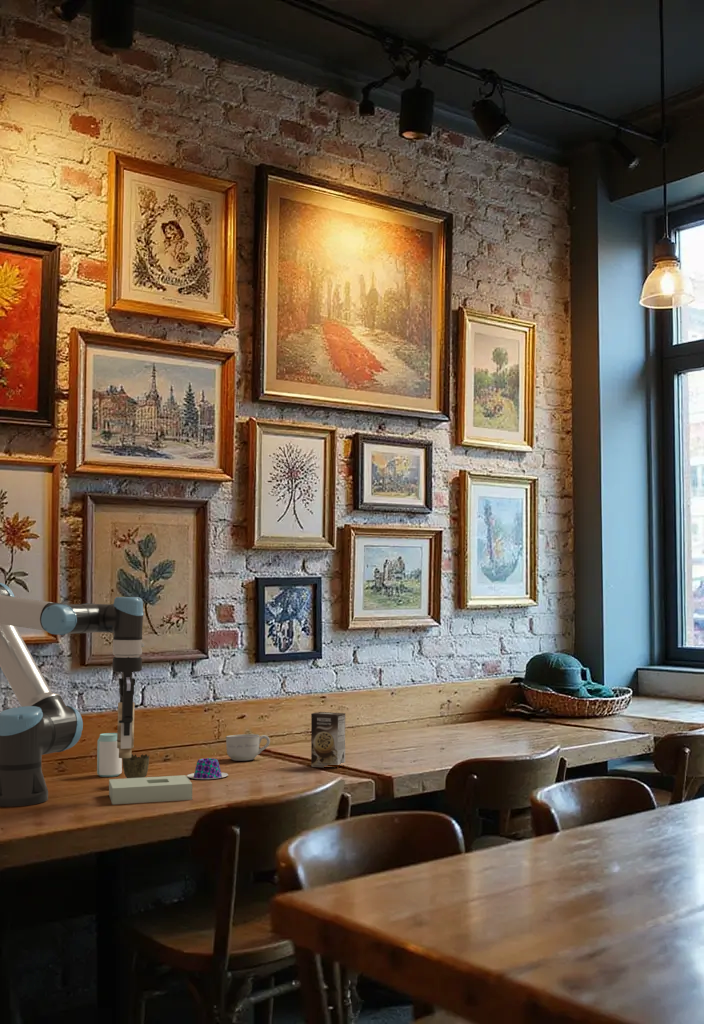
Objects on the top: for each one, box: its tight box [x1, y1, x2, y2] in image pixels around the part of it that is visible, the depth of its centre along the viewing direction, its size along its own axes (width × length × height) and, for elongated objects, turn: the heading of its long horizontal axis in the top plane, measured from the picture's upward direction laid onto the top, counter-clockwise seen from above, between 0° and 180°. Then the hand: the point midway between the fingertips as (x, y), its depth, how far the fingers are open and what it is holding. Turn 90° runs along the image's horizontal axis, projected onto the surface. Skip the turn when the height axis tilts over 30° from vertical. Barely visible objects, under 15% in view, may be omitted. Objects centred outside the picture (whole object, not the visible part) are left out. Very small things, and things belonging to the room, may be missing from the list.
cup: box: [122, 753, 150, 778], centre depth 295 cm, size 8×7×8 cm
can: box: [96, 732, 123, 778], centre depth 311 cm, size 7×7×12 cm
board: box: [108, 774, 193, 805], centre depth 276 cm, size 20×14×4 cm
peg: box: [116, 701, 136, 758], centre depth 276 cm, size 4×4×14 cm
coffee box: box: [310, 711, 346, 768], centre depth 325 cm, size 9×6×16 cm
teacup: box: [225, 733, 271, 762], centre depth 339 cm, size 14×11×8 cm
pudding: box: [186, 757, 229, 780], centre depth 307 cm, size 12×12×5 cm
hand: (125, 746), depth 275 cm, fingers closed on peg, 4 cm apart
